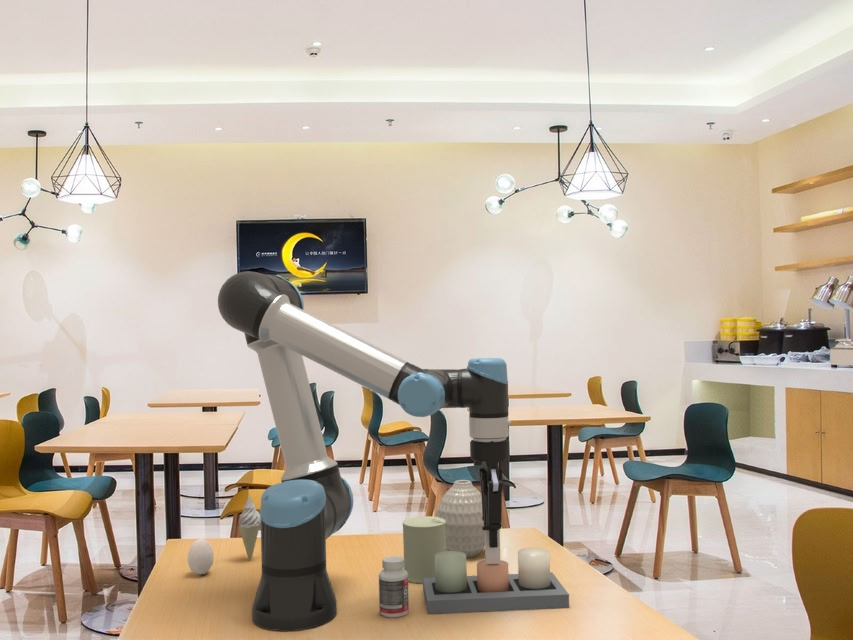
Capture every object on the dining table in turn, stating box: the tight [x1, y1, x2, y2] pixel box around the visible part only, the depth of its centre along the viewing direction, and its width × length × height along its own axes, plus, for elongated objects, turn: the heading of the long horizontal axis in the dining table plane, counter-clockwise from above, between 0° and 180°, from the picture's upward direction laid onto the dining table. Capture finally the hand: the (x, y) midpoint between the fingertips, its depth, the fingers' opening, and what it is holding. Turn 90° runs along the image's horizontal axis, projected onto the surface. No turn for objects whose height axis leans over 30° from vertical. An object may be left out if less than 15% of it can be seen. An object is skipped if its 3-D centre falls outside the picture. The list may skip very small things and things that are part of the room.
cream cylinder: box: [517, 547, 551, 589], centre depth 144 cm, size 6×6×6 cm
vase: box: [435, 479, 485, 559], centre depth 173 cm, size 13×13×17 cm
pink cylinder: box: [476, 559, 509, 593], centre depth 143 cm, size 6×6×6 cm
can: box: [402, 515, 447, 585], centre depth 157 cm, size 9×9×12 cm
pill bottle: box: [378, 555, 410, 618], centre depth 137 cm, size 5×5×10 cm
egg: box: [187, 538, 214, 575], centre depth 162 cm, size 5×5×8 cm
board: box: [422, 571, 570, 615], centre depth 143 cm, size 26×13×2 cm, turn 94°
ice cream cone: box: [237, 494, 261, 561], centre depth 172 cm, size 5×5×15 cm
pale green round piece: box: [435, 550, 468, 593], centre depth 143 cm, size 6×6×6 cm
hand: (492, 562), depth 143 cm, fingers closed
